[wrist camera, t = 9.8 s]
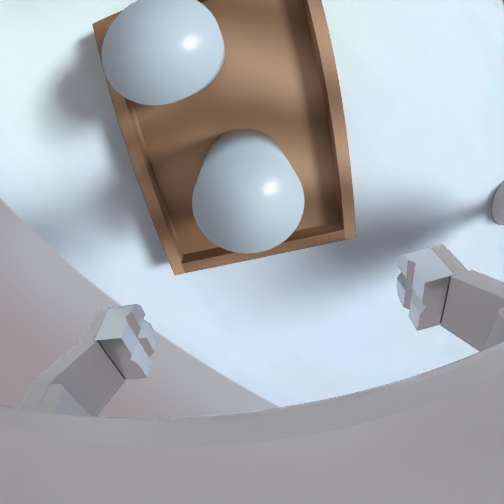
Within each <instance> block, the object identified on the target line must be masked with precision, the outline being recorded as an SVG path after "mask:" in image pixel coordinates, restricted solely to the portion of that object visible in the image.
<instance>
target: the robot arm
mask: <svg viewBox="0 0 504 504" xmlns="http://www.w3.org/2000/svg"><path fill="white" fill-rule="evenodd" d="M398 267H399V269H400V270H401V273H400V275H399V276H398V278H397V291H398V296H399V299H400V302H401V303H402V305H403V307H405V308H407V309H409V310H410V311H409V318H410V319H411V321H412V323H413V325H414V326H415V328H416V330H417V331H418V330H422V329H425V328H429V327H433V326H436V325H440V324H441V326H442V327H444V328H445V329H447V330H448V331H450V332H451V333H453V334H454V335H456V336H457V337H459V338H460V339H462V340H463V341H465V342H466V343H468V344H469V345H471V346H472V347H474V348H475V349H477V350H478V351H480V352H478V353H476V354H473V355H471V356H468V357H466V358H463V359H461V360H458V361H456V362H453V363H450V364H448V365H445V366H442V367H439V368H436V369H434V370H431V371H428V372H425V373H422V374H419V375H416V376H413V377H409V378H406V379H403V380H400V381H396V382H393V383H389V384H386V385H382V386H379V387H375V388H371V389H367V390H364V391H360V392H355V393H351V394H347V395H343V396H338V397H334V398H329V399H324V400H319V401H314V402H309V403H304V404H298V405H292V406H286V407H280V408H273V409H266V410H258V411H250V412H242V413H232V414H222V415H209V416H193V417H171V418H123V417H98V415H99V413H100V412H101V411H102V410H103V408H104V407H105V406H106V405H107V403H108V402H109V401H110V400H111V398H112V397H113V396H114V394H115V393H116V392H117V391H118V390H119V388H120V387H121V386H122V385H123V383H124V382H125V380H126V379H139V378H147V377H148V375H149V371H150V367H151V360H150V358H149V356H151V354H152V353H153V352H154V351H155V346H156V336H155V333H154V330H153V328H152V326H151V324H150V323H148V322H147V321H145V320H144V316H145V313H144V311H143V309H142V307H141V306H140V305H138V304H134V305H126V306H118V307H112V308H103V309H100V310H97V311H96V313H95V315H94V317H93V319H92V321H91V323H90V325H89V327H88V329H87V331H86V333H85V335H84V337H83V339H82V341H81V342H77V343H76V344H75V345H74V346H73V347H71V348H70V349H69V350H68V351H67V352H66V353H64V354H63V355H62V356H61V357H60V358H59V359H57V360H56V361H55V362H54V363H53V364H52V365H51V366H49V367H48V368H47V369H46V370H45V371H44V372H42V373H41V374H40V375H39V376H38V377H37V378H35V379H34V380H33V381H32V382H31V384H30V386H29V389H28V391H27V393H26V395H25V397H24V399H23V402H22V404H21V406H20V408H18V407H13V406H7V405H2V404H0V504H504V282H501V281H499V280H496V279H494V278H491V277H489V276H486V275H484V274H481V273H478V272H476V271H473V270H471V271H468V270H467V269H466V268H465V267H464V266H463V265H462V264H461V262H460V261H459V260H458V259H457V258H456V257H455V256H454V255H453V254H452V253H451V252H450V251H449V250H448V249H447V248H446V247H445V246H444V245H442V244H439V245H436V246H432V247H428V248H426V249H422V250H418V251H414V252H409V253H405V254H401V255H400V256H399V259H398Z"/></svg>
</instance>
